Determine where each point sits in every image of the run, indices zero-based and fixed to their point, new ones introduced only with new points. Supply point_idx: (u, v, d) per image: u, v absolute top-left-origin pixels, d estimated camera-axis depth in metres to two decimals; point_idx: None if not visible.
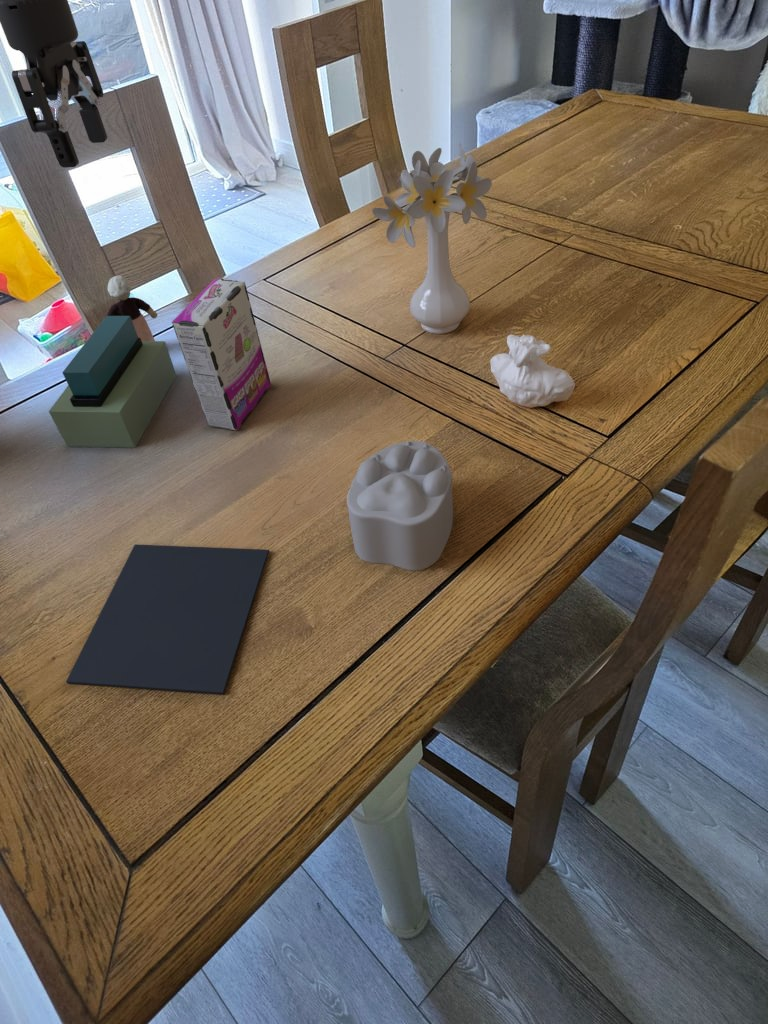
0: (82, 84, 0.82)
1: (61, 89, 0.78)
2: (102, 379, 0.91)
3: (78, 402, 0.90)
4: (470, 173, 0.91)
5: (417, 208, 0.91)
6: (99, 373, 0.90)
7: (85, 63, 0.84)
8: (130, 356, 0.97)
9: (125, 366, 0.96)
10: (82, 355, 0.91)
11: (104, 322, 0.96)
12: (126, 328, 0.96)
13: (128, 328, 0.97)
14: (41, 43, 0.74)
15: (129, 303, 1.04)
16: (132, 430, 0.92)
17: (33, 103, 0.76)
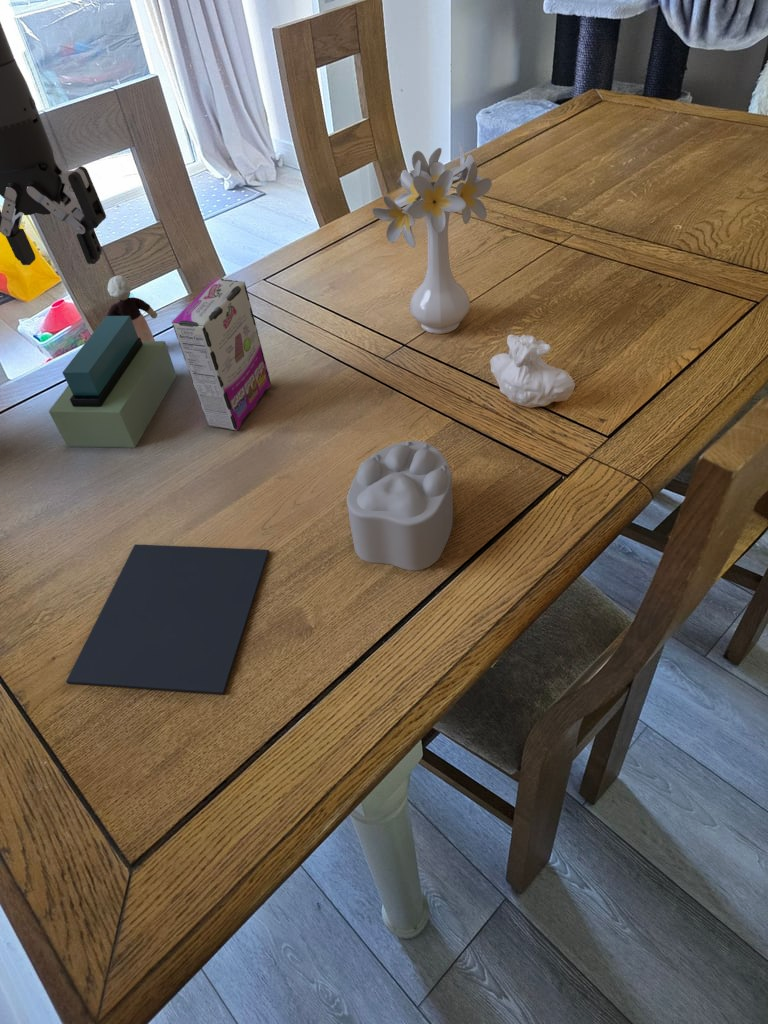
0: None
1: (65, 191, 0.80)
2: (102, 379, 0.91)
3: (78, 402, 0.90)
4: (470, 173, 0.91)
5: (417, 208, 0.91)
6: (99, 373, 0.90)
7: None
8: (130, 356, 0.97)
9: (125, 366, 0.96)
10: (82, 355, 0.91)
11: (104, 322, 0.96)
12: (126, 328, 0.96)
13: (128, 328, 0.97)
14: (52, 149, 0.77)
15: (129, 303, 1.04)
16: (132, 430, 0.92)
17: (93, 197, 0.78)
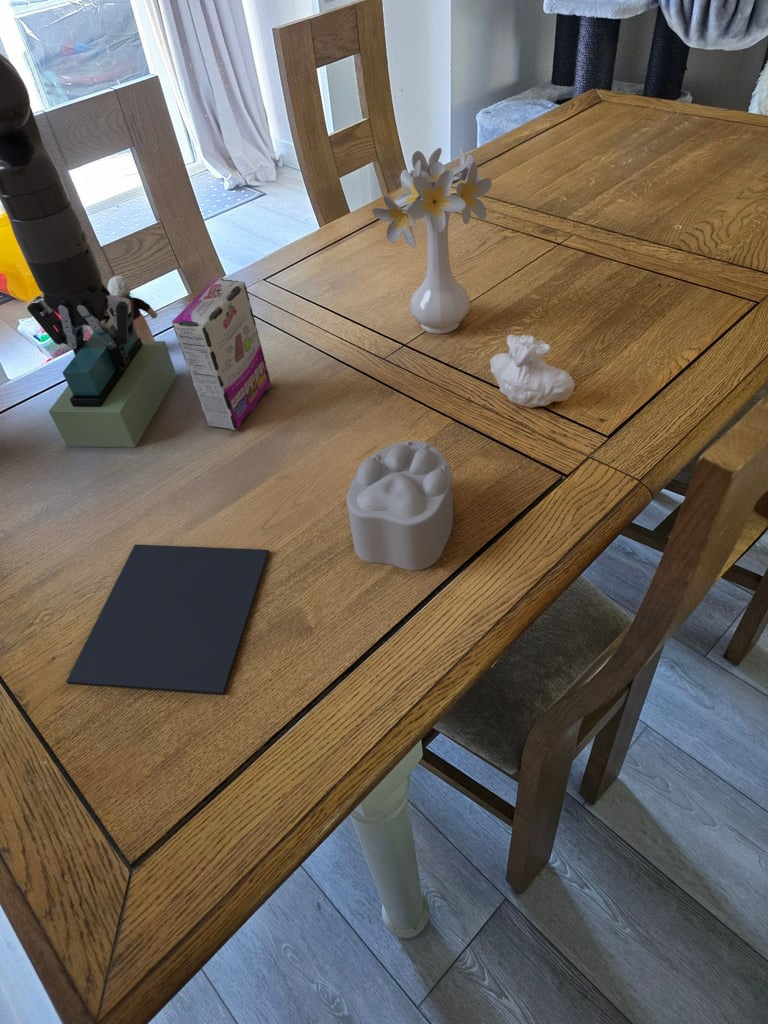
0: None
1: None
2: (102, 379, 0.91)
3: (78, 402, 0.90)
4: (470, 173, 0.91)
5: (417, 208, 0.91)
6: (99, 373, 0.90)
7: None
8: (130, 356, 0.97)
9: None
10: (82, 355, 0.91)
11: None
12: None
13: None
14: (99, 272, 0.86)
15: None
16: (132, 430, 0.92)
17: (130, 321, 0.89)
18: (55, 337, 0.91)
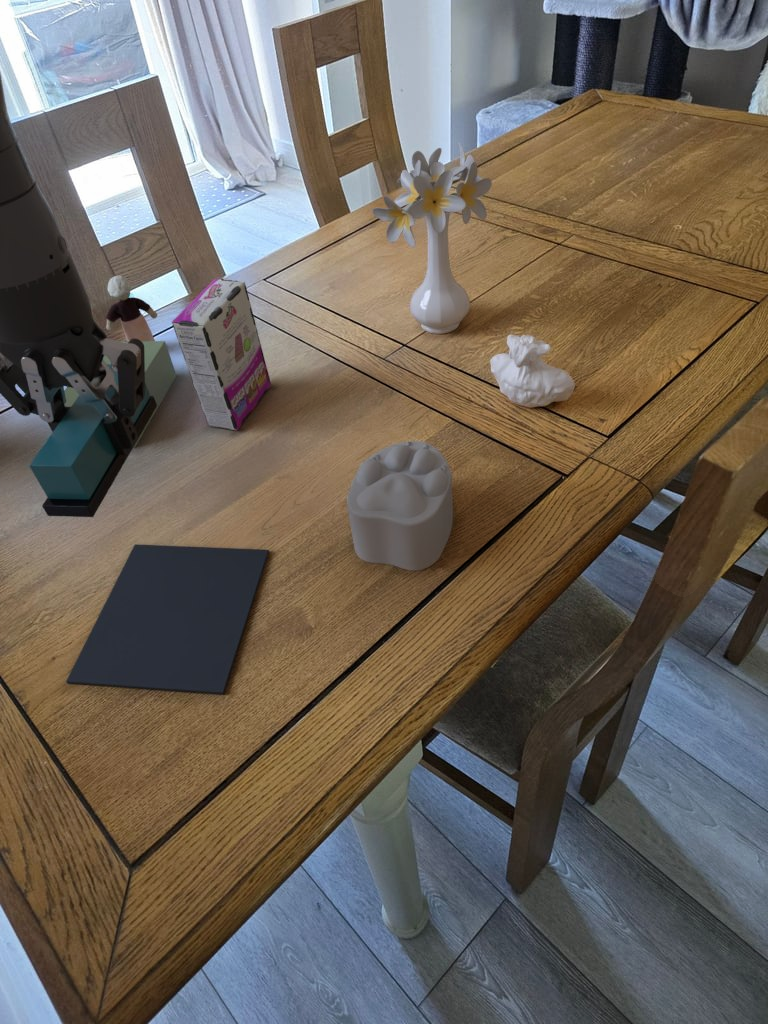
0: None
1: None
2: (95, 472, 0.56)
3: (56, 510, 0.56)
4: (470, 173, 0.91)
5: (417, 208, 0.91)
6: (90, 463, 0.56)
7: None
8: (139, 426, 0.63)
9: None
10: (62, 434, 0.56)
11: None
12: None
13: None
14: (89, 301, 0.52)
15: (129, 303, 1.04)
16: None
17: (140, 379, 0.55)
18: (19, 405, 0.57)
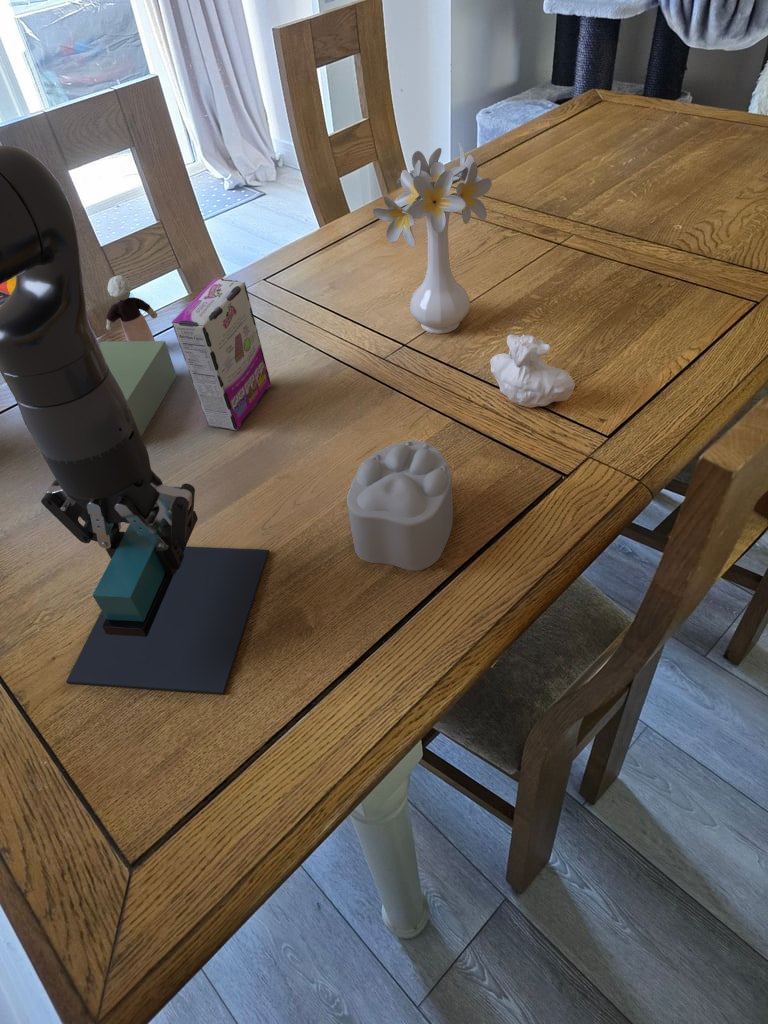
0: None
1: None
2: (148, 595, 0.63)
3: (114, 630, 0.63)
4: (470, 173, 0.91)
5: (417, 208, 0.91)
6: (145, 589, 0.62)
7: None
8: None
9: None
10: (120, 562, 0.63)
11: None
12: None
13: None
14: (147, 454, 0.59)
15: (129, 303, 1.04)
16: None
17: (190, 516, 0.62)
18: (81, 535, 0.63)
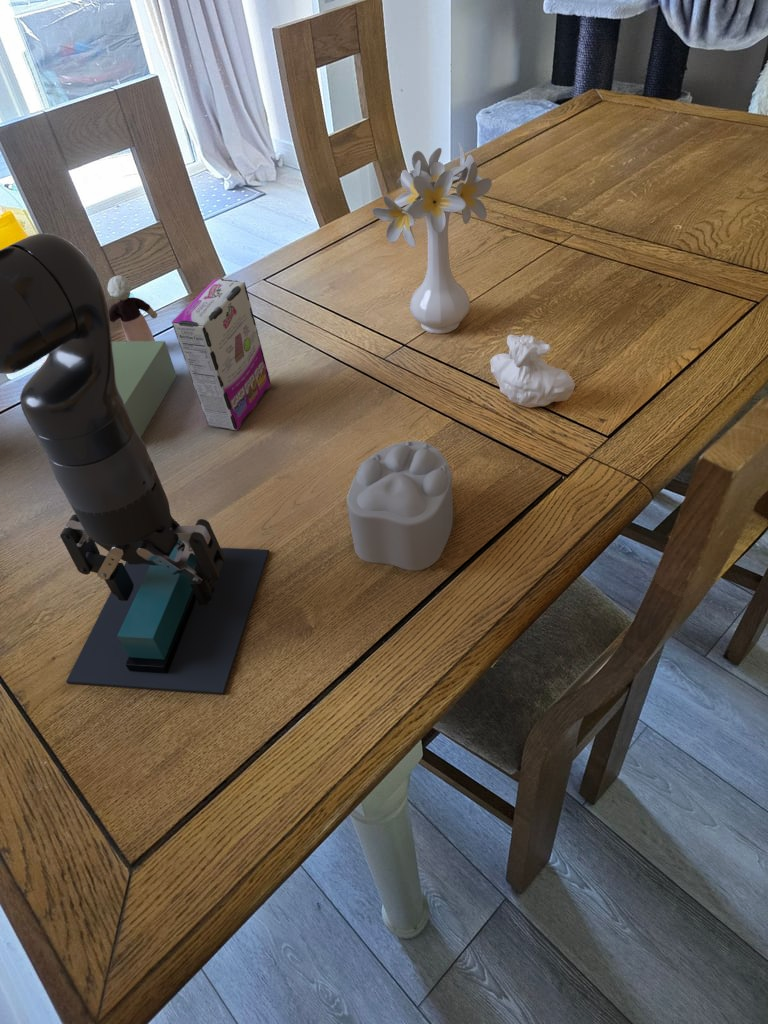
0: None
1: None
2: (168, 635, 0.68)
3: (137, 668, 0.67)
4: (470, 173, 0.91)
5: (417, 208, 0.91)
6: (165, 629, 0.67)
7: None
8: None
9: (194, 599, 0.73)
10: (142, 603, 0.67)
11: None
12: None
13: None
14: (168, 502, 0.63)
15: (129, 303, 1.04)
16: None
17: (214, 549, 0.65)
18: (82, 567, 0.67)
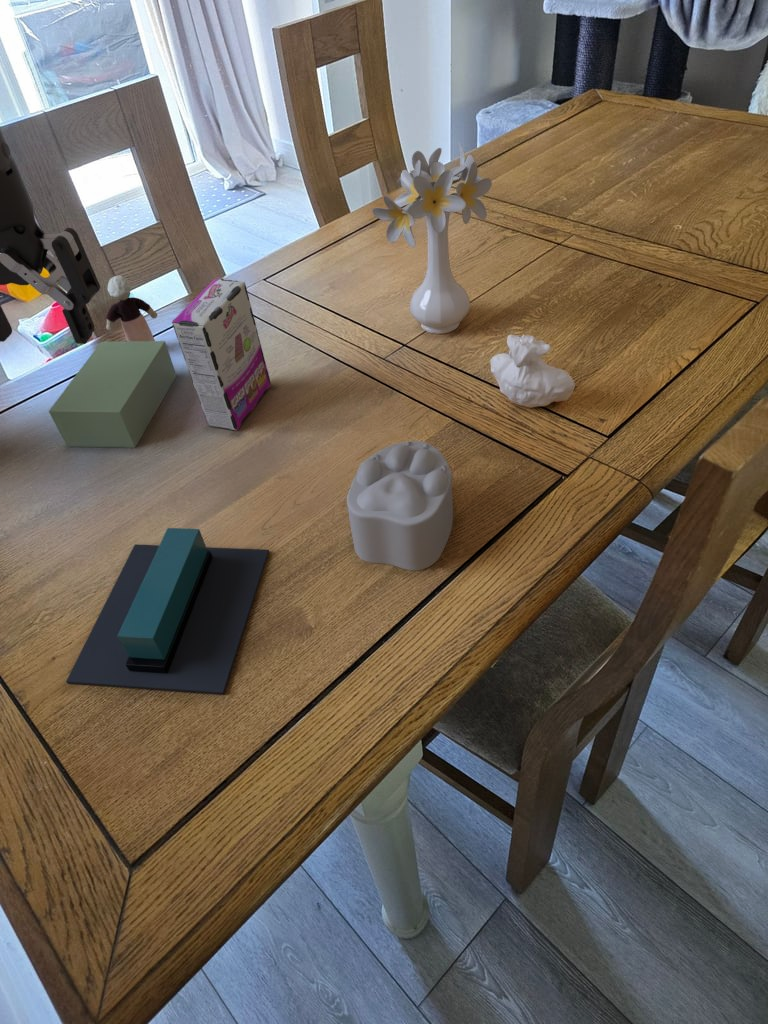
0: None
1: (49, 255, 0.63)
2: (168, 635, 0.68)
3: (137, 668, 0.67)
4: (470, 173, 0.91)
5: (417, 208, 0.91)
6: (165, 629, 0.67)
7: None
8: (199, 582, 0.74)
9: (194, 599, 0.73)
10: (142, 603, 0.67)
11: (166, 541, 0.73)
12: (195, 548, 0.73)
13: (197, 547, 0.74)
14: (32, 206, 0.60)
15: (129, 303, 1.04)
16: (132, 430, 0.92)
17: (84, 266, 0.62)
18: None
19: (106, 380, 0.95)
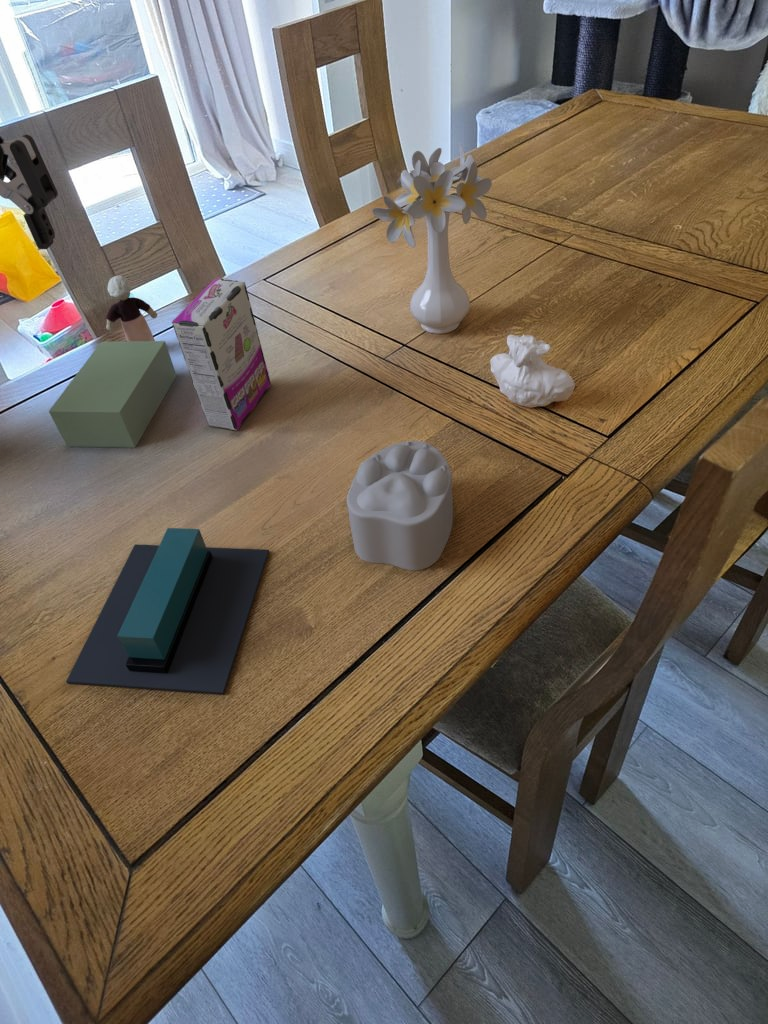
0: None
1: (10, 164, 0.69)
2: (168, 635, 0.68)
3: (137, 668, 0.67)
4: (470, 173, 0.91)
5: (417, 208, 0.91)
6: (165, 629, 0.67)
7: None
8: (199, 582, 0.74)
9: (194, 599, 0.73)
10: (142, 603, 0.67)
11: (166, 541, 0.73)
12: (195, 548, 0.73)
13: (197, 547, 0.74)
14: None
15: (129, 303, 1.04)
16: (132, 430, 0.92)
17: (41, 170, 0.68)
18: None
19: (106, 380, 0.95)
